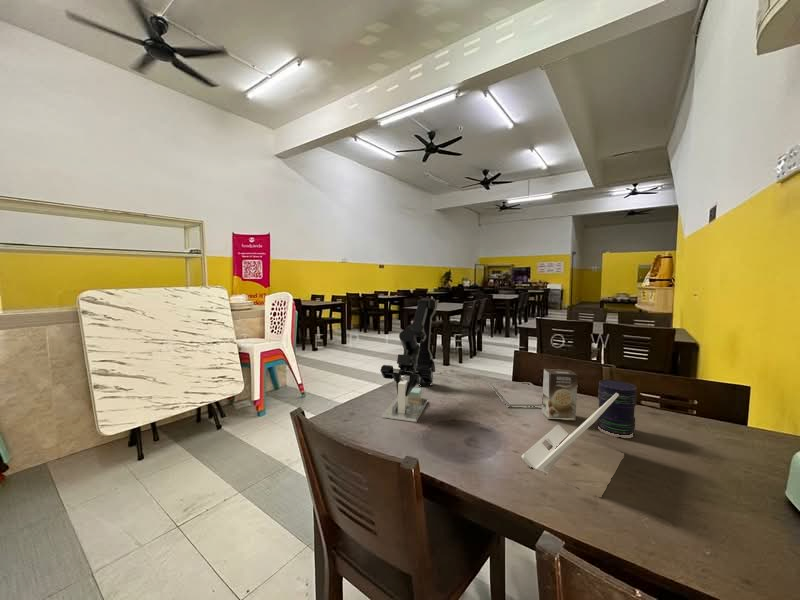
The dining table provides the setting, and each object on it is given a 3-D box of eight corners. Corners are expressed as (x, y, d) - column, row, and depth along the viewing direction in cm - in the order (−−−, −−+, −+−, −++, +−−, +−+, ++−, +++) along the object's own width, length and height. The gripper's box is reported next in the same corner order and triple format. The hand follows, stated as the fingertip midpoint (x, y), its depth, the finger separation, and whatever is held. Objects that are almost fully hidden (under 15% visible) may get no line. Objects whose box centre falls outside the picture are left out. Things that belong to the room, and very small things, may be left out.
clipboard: (507, 405, 118) (486, 380, 147) (507, 409, 118) (486, 383, 148) (559, 405, 117) (528, 380, 147) (559, 409, 117) (527, 383, 147)
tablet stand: (625, 455, 86) (628, 394, 85) (601, 500, 69) (605, 423, 68) (555, 432, 99) (557, 379, 98) (520, 465, 81) (522, 400, 80)
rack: (398, 398, 127) (398, 390, 127) (427, 401, 124) (428, 393, 123) (382, 417, 109) (382, 408, 109) (416, 422, 105) (416, 413, 105)
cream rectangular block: (401, 408, 114) (401, 379, 114) (408, 409, 114) (408, 380, 113) (397, 413, 110) (398, 383, 109) (404, 414, 109) (405, 384, 109)
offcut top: (404, 391, 126) (404, 386, 125) (421, 393, 124) (421, 388, 123) (400, 396, 121) (400, 390, 121) (418, 398, 119) (418, 392, 119)
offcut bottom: (404, 396, 126) (404, 391, 126) (421, 398, 124) (421, 393, 124) (400, 401, 121) (400, 396, 121) (418, 403, 119) (418, 398, 119)
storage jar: (597, 434, 98) (599, 386, 97) (595, 421, 106) (597, 378, 105) (637, 442, 93) (640, 392, 92) (631, 428, 102) (633, 382, 101)
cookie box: (547, 420, 107) (549, 373, 106) (541, 412, 114) (542, 368, 113) (576, 421, 106) (578, 374, 105) (568, 413, 113) (569, 369, 112)
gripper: (382, 343, 117) (370, 381, 107) (432, 346, 111) (425, 387, 102) (389, 359, 125) (379, 396, 115) (435, 363, 119) (429, 402, 110)
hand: (402, 395), depth 110 cm, fingers closed on cream rectangular block, 2 cm apart
